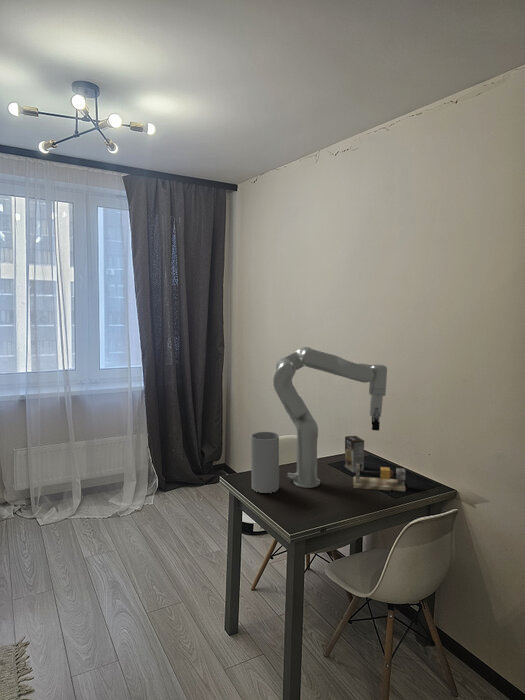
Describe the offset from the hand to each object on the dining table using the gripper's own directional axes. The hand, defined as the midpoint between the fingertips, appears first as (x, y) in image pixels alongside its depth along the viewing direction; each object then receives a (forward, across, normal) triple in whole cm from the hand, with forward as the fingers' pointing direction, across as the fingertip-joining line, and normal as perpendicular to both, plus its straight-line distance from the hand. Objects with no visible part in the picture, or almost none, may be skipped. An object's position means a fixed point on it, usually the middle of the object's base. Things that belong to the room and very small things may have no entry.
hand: (375, 427), depth 215 cm
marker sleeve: (+22, +4, +6) cm, 23 cm away
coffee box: (+27, -14, -9) cm, 31 cm away
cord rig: (+26, +4, +3) cm, 27 cm away
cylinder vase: (+28, +19, -48) cm, 59 cm away
